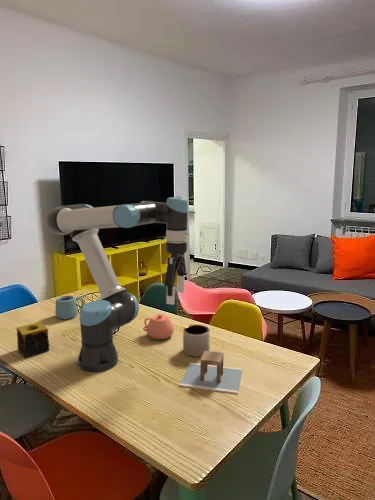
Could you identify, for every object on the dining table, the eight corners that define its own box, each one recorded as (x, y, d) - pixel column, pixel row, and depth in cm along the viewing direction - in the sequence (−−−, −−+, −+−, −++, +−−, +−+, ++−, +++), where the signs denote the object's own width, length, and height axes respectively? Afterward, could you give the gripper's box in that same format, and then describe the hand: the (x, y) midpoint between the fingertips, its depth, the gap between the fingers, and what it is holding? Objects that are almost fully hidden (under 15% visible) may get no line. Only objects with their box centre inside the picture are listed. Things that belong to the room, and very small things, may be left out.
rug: (179, 386, 130) (179, 384, 130) (190, 363, 145) (190, 362, 145) (237, 393, 125) (237, 392, 125) (242, 370, 140) (242, 368, 140)
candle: (24, 358, 150) (22, 335, 148) (17, 349, 157) (14, 327, 155) (50, 351, 156) (48, 328, 154) (41, 343, 164) (40, 321, 162)
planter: (207, 358, 149) (207, 336, 147) (180, 356, 151) (180, 333, 149) (211, 346, 159) (211, 325, 158) (186, 344, 162) (186, 323, 160)
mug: (79, 309, 204) (78, 291, 202) (88, 315, 196) (87, 296, 194) (52, 316, 195) (51, 297, 193) (60, 322, 186) (59, 303, 184)
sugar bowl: (170, 342, 163) (170, 320, 162) (139, 340, 166) (139, 318, 164) (176, 331, 175) (175, 310, 173) (147, 329, 178) (146, 308, 176)
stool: (200, 380, 132) (200, 359, 131) (204, 370, 139) (204, 350, 137) (220, 383, 131) (220, 361, 129) (223, 373, 137) (223, 352, 136)
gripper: (177, 248, 122) (176, 310, 126) (194, 236, 145) (193, 288, 150) (155, 247, 124) (155, 308, 128) (176, 234, 147) (175, 286, 152)
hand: (175, 297), depth 139 cm, fingers open, 13 cm apart
